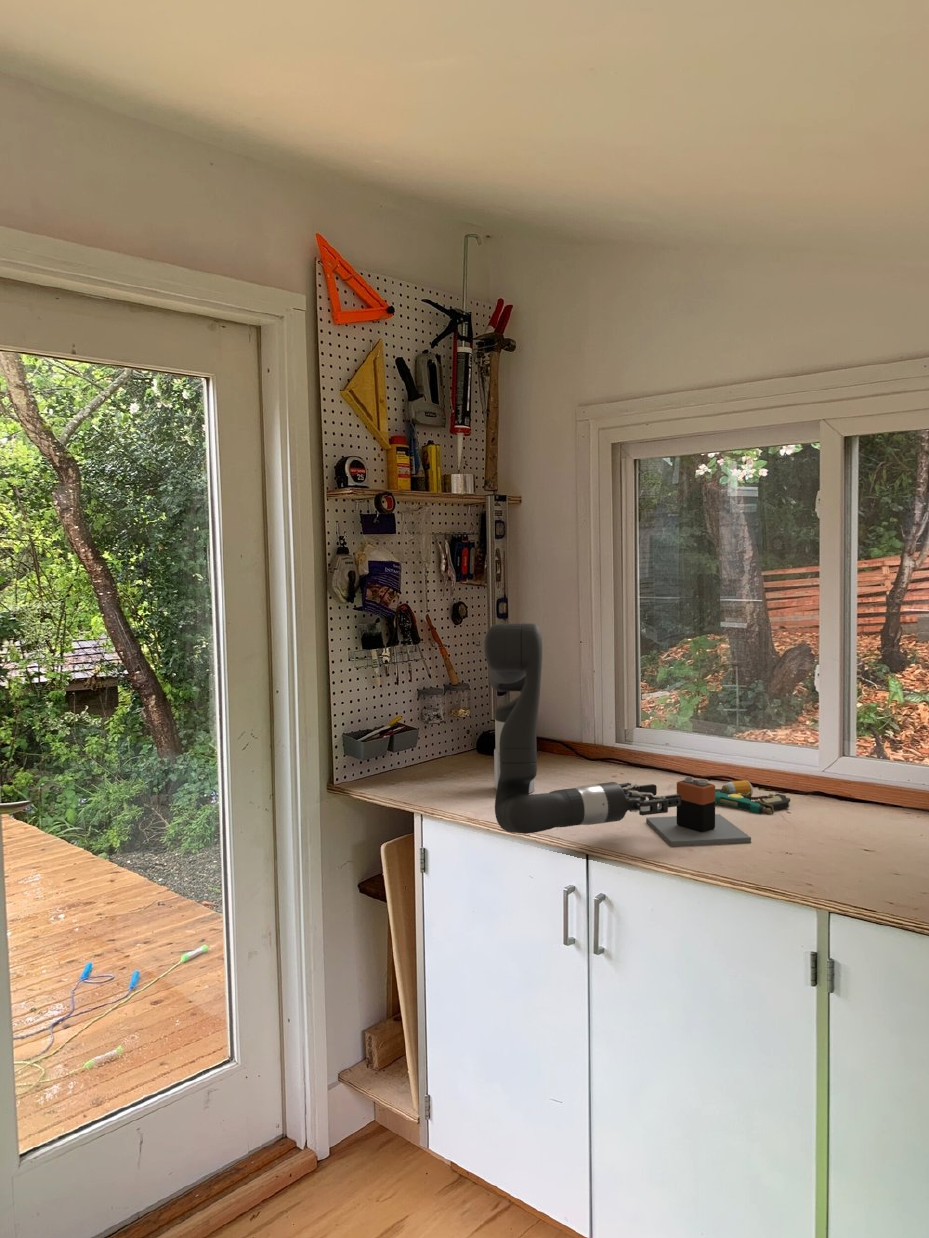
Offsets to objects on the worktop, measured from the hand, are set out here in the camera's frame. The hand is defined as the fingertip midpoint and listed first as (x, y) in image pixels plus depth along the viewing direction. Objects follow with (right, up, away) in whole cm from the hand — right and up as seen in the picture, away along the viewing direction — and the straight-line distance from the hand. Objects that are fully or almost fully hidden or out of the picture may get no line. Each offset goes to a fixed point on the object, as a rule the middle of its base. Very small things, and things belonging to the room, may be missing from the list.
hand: (667, 794), depth 183 cm
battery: (+6, -7, +3) cm, 10 cm away
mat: (+7, -8, +3) cm, 11 cm away
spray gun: (+23, -7, +23) cm, 33 cm away
